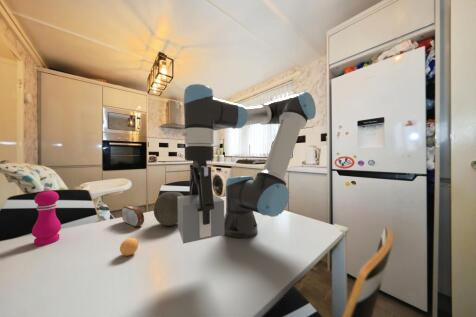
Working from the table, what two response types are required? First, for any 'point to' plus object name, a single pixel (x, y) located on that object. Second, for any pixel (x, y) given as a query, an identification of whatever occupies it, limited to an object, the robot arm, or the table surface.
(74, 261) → the table surface
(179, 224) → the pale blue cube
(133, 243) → the ball
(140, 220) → the tin
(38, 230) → the pepper mill
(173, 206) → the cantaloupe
